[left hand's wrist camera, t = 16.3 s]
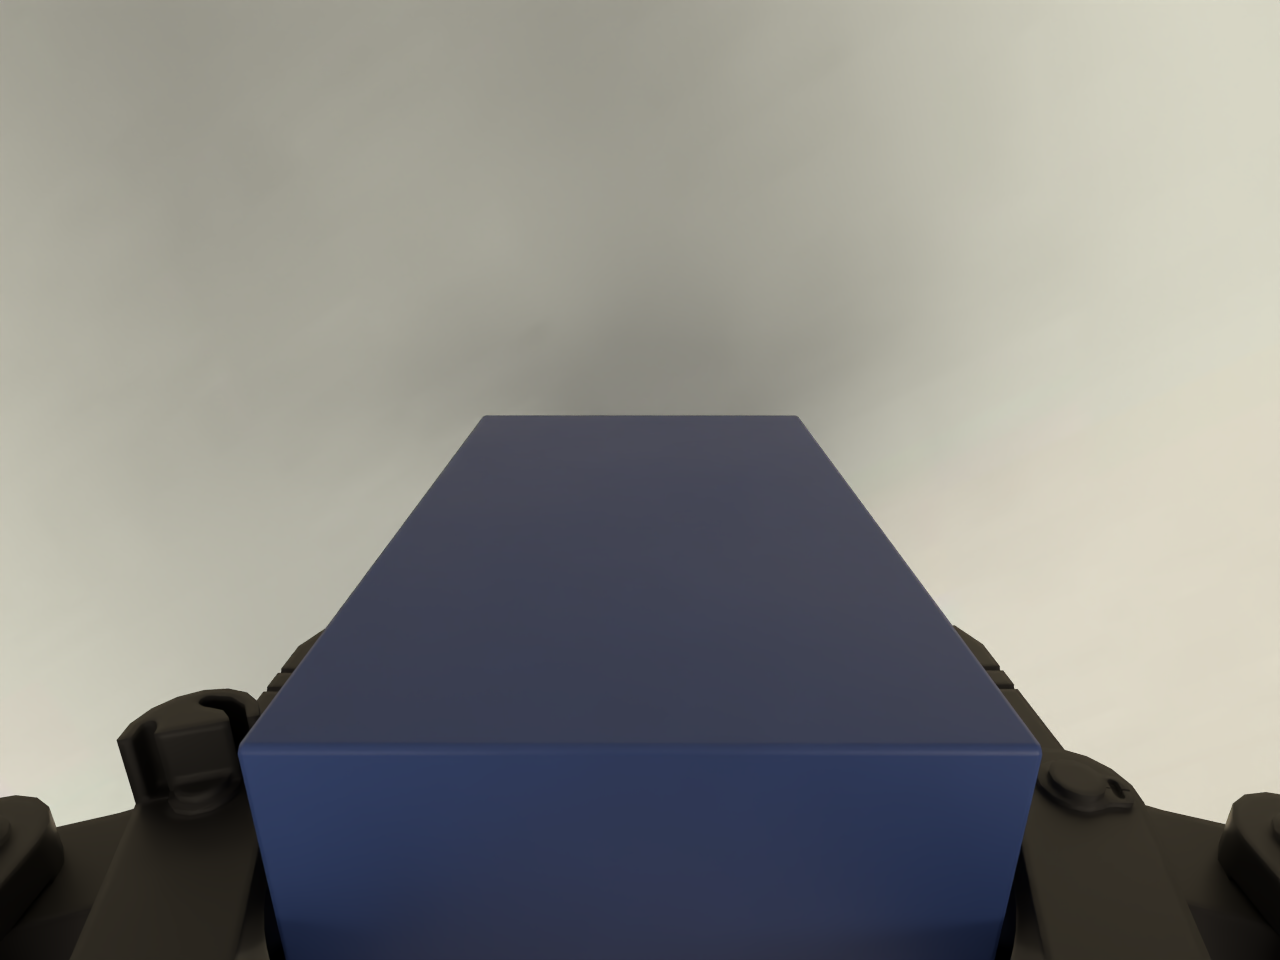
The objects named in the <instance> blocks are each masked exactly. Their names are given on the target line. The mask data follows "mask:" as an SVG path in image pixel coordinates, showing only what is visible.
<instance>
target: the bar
mask: <svg viewBox="0 0 1280 960" xmlns="http://www.w3.org/2000/svg"><path fill="white" fill-rule="evenodd" d="M238 758H239V762H240V766H241V771H242V775H243V779H244V783H245V788H246V792H247V796H248V801H249V805H250V809H251V813H252V818H253V822H254V826H255V831H256V835H257V839H258V843H259V848H260V852H261V856H262V861H263V865H264V869H265V873H266V878H267V882H268V886H269V891H270V895H271V899H272V903H273V908H274V912H275V916H276V921H277V925H278V929H279V934H280V938H281V942H282V946H283V951H284V955H285V959H286V960H995V956H996V951H997V947H998V943H999V938H1000V934H1001V930H1002V926H1003V921H1004V917H1005V913H1006V908H1007V904H1008V900H1009V896H1010V891H1011V887H1012V883H1013V879H1014V874H1015V870H1016V866H1017V861H1018V857H1019V853H1020V849H1021V844H1022V840H1023V836H1024V831H1025V827H1026V823H1027V819H1028V814H1029V810H1030V806H1031V801H1032V797H1033V793H1034V789H1035V784H1036V780H1037V776H1038V771H1039V767H1040V763H1041V759H1042V749H1041V746H1040V744H1039V742H1038V741H1037V740H1036V738H1035V737H1034V735H1033V734H1032V733H1031V731H1030V730H1029V729H1028V727H1027V726H1026V725H1025V723H1024V722H1023V721H1022V719H1021V718H1020V717H1019V715H1018V714H1017V712H1016V711H1015V710H1014V708H1013V707H1012V706H1011V704H1010V703H1009V702H1008V700H1007V699H1006V698H1005V696H1004V695H1003V694H1002V692H1001V691H1000V689H999V688H998V687H997V685H996V684H995V683H994V681H993V680H992V679H991V677H990V676H989V675H988V673H987V672H986V671H985V669H984V668H983V666H982V665H981V664H980V662H979V661H978V660H977V658H976V657H975V656H974V654H973V653H972V652H971V650H970V649H969V647H968V646H967V645H966V643H965V642H964V641H963V639H962V638H961V637H960V635H959V634H958V633H957V631H956V630H955V629H954V627H953V626H952V624H951V623H950V622H949V620H948V619H947V618H946V616H945V615H944V614H943V612H942V611H941V610H940V608H939V607H938V606H937V604H936V603H935V601H934V600H933V599H932V597H931V596H930V595H929V593H928V592H927V591H926V589H925V588H924V587H923V585H922V584H921V583H920V581H919V580H918V578H917V577H916V576H915V574H914V573H913V572H912V570H911V569H910V568H909V566H908V565H907V564H906V562H905V561H904V560H903V558H902V557H901V555H900V554H899V553H898V551H897V550H896V549H895V547H894V546H893V545H892V543H891V542H890V541H889V539H888V538H887V537H886V535H885V534H884V532H883V531H882V530H881V528H880V527H879V526H878V524H877V523H876V522H875V520H874V519H873V518H872V516H871V515H870V514H869V512H868V511H867V509H866V508H865V507H864V505H863V504H862V503H861V501H860V500H859V499H858V497H857V496H856V495H855V493H854V492H853V491H852V489H851V488H850V486H849V485H848V484H847V482H846V481H845V480H844V478H843V477H842V476H841V474H840V473H839V472H838V470H837V469H836V468H835V466H834V465H833V463H832V462H831V461H830V459H829V458H828V457H827V455H826V454H825V453H824V451H823V450H822V449H821V447H820V446H819V445H818V443H817V442H816V440H815V439H814V438H813V436H812V435H811V434H810V432H809V431H808V430H807V428H806V427H805V426H804V424H803V423H802V422H801V420H800V419H799V417H797V416H483V417H482V419H481V420H480V422H479V423H478V424H477V426H476V427H475V428H474V430H473V431H472V432H471V434H470V435H469V436H468V438H467V439H466V440H465V442H464V443H463V444H462V446H461V447H460V448H459V450H458V451H457V452H456V454H455V455H454V456H453V458H452V459H451V461H450V462H449V463H448V465H447V466H446V467H445V469H444V470H443V471H442V473H441V474H440V475H439V477H438V478H437V479H436V481H435V482H434V483H433V485H432V486H431V487H430V489H429V490H428V491H427V493H426V494H425V495H424V497H423V498H422V500H421V501H420V502H419V504H418V505H417V506H416V508H415V509H414V510H413V512H412V513H411V514H410V516H409V517H408V518H407V520H406V521H405V522H404V524H403V525H402V526H401V528H400V529H399V530H398V532H397V533H396V534H395V536H394V537H393V539H392V540H391V541H390V543H389V544H388V545H387V547H386V548H385V549H384V551H383V552H382V553H381V555H380V556H379V557H378V559H377V560H376V561H375V563H374V564H373V565H372V567H371V568H370V569H369V571H368V572H367V573H366V575H365V576H364V578H363V579H362V580H361V582H360V583H359V584H358V586H357V587H356V588H355V590H354V591H353V592H352V594H351V595H350V596H349V598H348V599H347V600H346V602H345V603H344V604H343V606H342V607H341V608H340V610H339V611H338V612H337V614H336V615H335V616H334V618H333V619H332V621H331V622H330V623H329V625H328V626H327V627H326V629H325V630H324V631H323V633H322V634H321V635H320V637H319V638H318V639H317V641H316V642H315V643H314V645H313V646H312V647H311V649H310V650H309V651H308V653H307V654H306V655H305V657H304V658H303V660H302V661H301V662H300V664H299V665H298V666H297V668H296V669H295V670H294V672H293V673H292V674H291V676H290V677H289V678H288V680H287V681H286V682H285V684H284V685H283V686H282V688H281V689H280V690H279V692H278V693H277V694H276V696H275V697H274V699H273V700H272V701H271V703H270V704H269V705H268V707H267V708H266V709H265V711H264V712H263V713H262V715H261V716H260V717H259V719H258V720H257V721H256V723H255V724H254V725H253V727H252V728H251V729H250V731H249V732H248V733H247V735H246V736H245V738H244V739H243V740H242V742H241V743H240V745H239V749H238Z"/></svg>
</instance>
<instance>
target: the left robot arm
mask: <svg viewBox="0 0 1280 960" xmlns="http://www.w3.org/2000/svg"><path fill="white" fill-rule="evenodd" d="M952 626H953V627H954V629H955V630H956V631H957V633H958V634H959V635H960V637H961V638H962V639H963V641H964V642H965V643H966V645H967V646H968V647H969V649H970V650H971V652H972V653H973V654H974V656H975V657H976V658H977V660H978V661H979V662H980V664H981V665H982V666H983V668H984V669H985V671H986V672H987V673H988V675H989V676H990V677H991V679H992V680H993V681H994V683H995V684H996V685H997V687H998V688H999V689H1000V691H1001V692H1002V694H1003V695H1004V696H1005V698H1006V699H1007V700H1008V702H1009V703H1010V704H1011V706H1012V707H1013V708H1014V710H1015V711H1016V712H1017V714H1018V715H1019V717H1020V718H1021V719H1022V721H1023V722H1024V723H1025V725H1026V726H1027V727H1028V729H1029V730H1030V731H1031V733H1032V734H1033V735H1034V737H1035V738H1036V740H1037V741H1038V742H1039V744H1040V746H1041V749H1042V759H1041V763H1040V767H1039V771H1038V776H1037V780H1036V784H1035V789H1034V793H1033V797H1032V801H1031V806H1030V810H1029V814H1028V819H1027V823H1026V827H1025V831H1024V836H1023V840H1022V844H1021V849H1020V853H1019V857H1018V861H1017V866H1016V870H1015V874H1014V879H1013V883H1012V887H1011V891H1010V896H1009V900H1008V904H1007V908H1006V913H1005V917H1004V921H1003V926H1002V930H1001V934H1000V938H999V943H998V947H997V951H996V956H995V960H1280V794H1274V793H1268V792H1263V793H1254V794H1245V795H1244V796H1242V797H1241V798H1240V799H1238V800H1237V801H1236V802H1234V803H1233V805H1232V808H1231V810H1230V813H1229V816H1228V819H1227V822H1226V824H1222V823H1217V822H1213V821H1208V820H1204V819H1199V818H1195V817H1191V816H1186V815H1182V814H1177V813H1173V812H1168V811H1164V810H1160V809H1157V808H1153V807H1150V806H1146V805H1145V804H1144V802H1143V801H1142V799H1141V798H1140V796H1139V795H1138V793H1137V792H1136V791H1135V789H1134V788H1133V786H1132V785H1131V784H1130V783H1128V782H1127V781H1126V780H1125V779H1123V778H1122V777H1121V776H1120V775H1118V774H1117V773H1116V772H1115V771H1113V770H1112V769H1111V768H1109V767H1107V766H1105V765H1103V764H1101V763H1099V762H1097V761H1095V760H1093V759H1091V758H1089V757H1087V756H1084V755H1080V754H1077V753H1073V752H1070V751H1067V750H1064V748H1063V747H1062V746H1061V745H1060V743H1059V742H1058V741H1057V739H1056V738H1055V737H1054V736H1053V734H1052V733H1051V732H1050V730H1049V729H1048V728H1047V727H1046V725H1045V724H1044V723H1043V721H1042V720H1041V719H1040V718H1039V716H1038V715H1037V714H1036V712H1035V711H1034V710H1033V708H1032V707H1031V706H1030V705H1029V703H1028V702H1027V701H1026V699H1025V698H1024V697H1023V696H1022V694H1021V693H1020V692H1019V690H1018V689H1014V684H1013V683H1012V681H1011V680H1010V679H1009V678H1008V676H1007V675H1006V674H1005V672H1004V671H1000V666H999V665H998V663H997V662H996V661H995V659H994V658H993V657H992V656H991V654H990V653H989V652H988V650H987V649H986V648H985V647H984V645H983V644H982V643H980V642H979V641H977V640H976V639H974V638H973V637H971V636H970V635H968V634H967V633H965V632H964V631H962V630H961V629H959V628H958V627H956V626H955V625H952ZM325 629H326V628H325ZM325 629H324V630H325ZM324 630H322V631H321V632H319V633H318V634H316V635H315V636H313V637H312V638H310V639H309V640H307V641H306V642H304V643H303V644H302V645H300V646H299V647H298V648H297V649H296V650H295V652H294V653H293V654H292V655H291V657H290V658H289V659H288V661H287V662H286V663H285V665H284V666H283V667H282V668H281V673H278V674H277V675H276V676H275V678H274V679H273V680H272V681H271V683H270V684H269V685H268V687H267V692H263V693H262V694H261V696H260V697H259V698H258V700H255V699H254V698H253V697H252V696H251V695H249V694H248V693H247V692H242V691H237V690H233V689H214V690H203V691H199V692H195V693H191V694H187V695H183V696H179V697H176V698H174V699H172V700H170V701H167V702H165V703H163V704H161V705H158V706H156V707H154V708H152V709H150V710H149V711H147V712H146V713H145V714H143V715H142V716H140V717H139V718H137V719H136V720H135V721H133V722H132V723H130V724H129V726H128V727H127V728H126V729H125V731H124V732H123V733H122V734H121V735H120V737H119V738H118V739H117V743H118V746H119V750H120V753H121V756H122V760H123V763H124V766H125V769H126V773H127V776H128V779H129V783H130V786H131V789H132V793H133V796H134V799H135V802H136V805H135V807H134V809H131V810H128V811H125V812H121V813H117V814H113V815H109V816H104V817H100V818H95V819H91V820H86V821H82V822H78V823H73V824H69V825H64V826H60V827H56V825H55V822H54V820H53V817H52V814H51V811H50V808H49V807H48V806H47V805H46V804H45V803H43V802H42V801H41V800H39V799H38V798H35V797H26V796H18V795H15V796H9V797H2V798H0V960H286V959H285V955H284V951H283V946H282V942H281V938H280V934H279V929H278V925H277V921H276V916H275V912H274V908H273V903H272V899H271V895H270V891H269V886H268V882H267V878H266V873H265V869H264V865H263V861H262V856H261V852H260V848H259V843H258V839H257V835H256V831H255V826H254V822H253V818H252V813H251V809H250V805H249V801H248V796H247V792H246V788H245V783H244V779H243V775H242V771H241V766H240V762H239V758H238V749H239V745H240V743H241V742H242V740H243V739H244V738H245V736H246V735H247V733H248V732H249V731H250V729H251V728H252V727H253V725H254V724H255V723H256V721H257V720H258V719H259V717H260V716H261V715H262V713H263V712H264V711H265V709H266V708H267V707H268V705H269V704H270V703H271V701H272V700H273V699H274V697H275V696H276V694H277V693H278V692H279V690H280V689H281V688H282V686H283V685H284V684H285V682H286V681H287V680H288V678H289V677H290V676H291V674H292V673H293V672H294V670H295V669H296V668H297V666H298V665H299V664H300V662H301V661H302V660H303V658H304V657H305V655H306V654H307V653H308V651H309V650H310V649H311V647H312V646H313V645H314V643H315V642H316V641H317V639H318V638H319V637H320V635H321V634H322V633H323V631H324Z"/></svg>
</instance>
